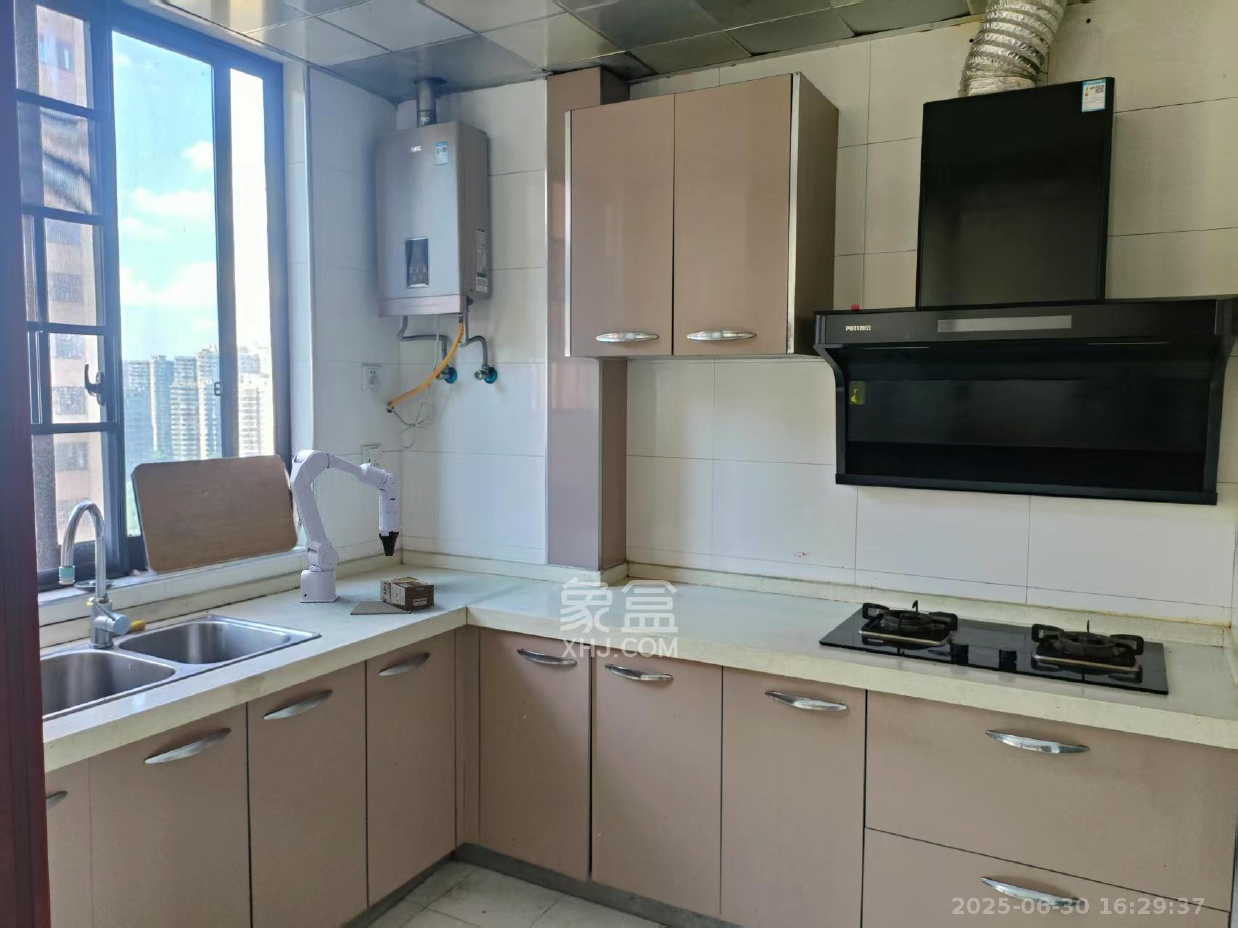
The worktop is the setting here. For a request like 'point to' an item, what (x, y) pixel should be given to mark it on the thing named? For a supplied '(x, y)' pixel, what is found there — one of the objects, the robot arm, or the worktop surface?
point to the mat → (377, 608)
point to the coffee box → (407, 592)
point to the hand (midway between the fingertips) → (389, 555)
